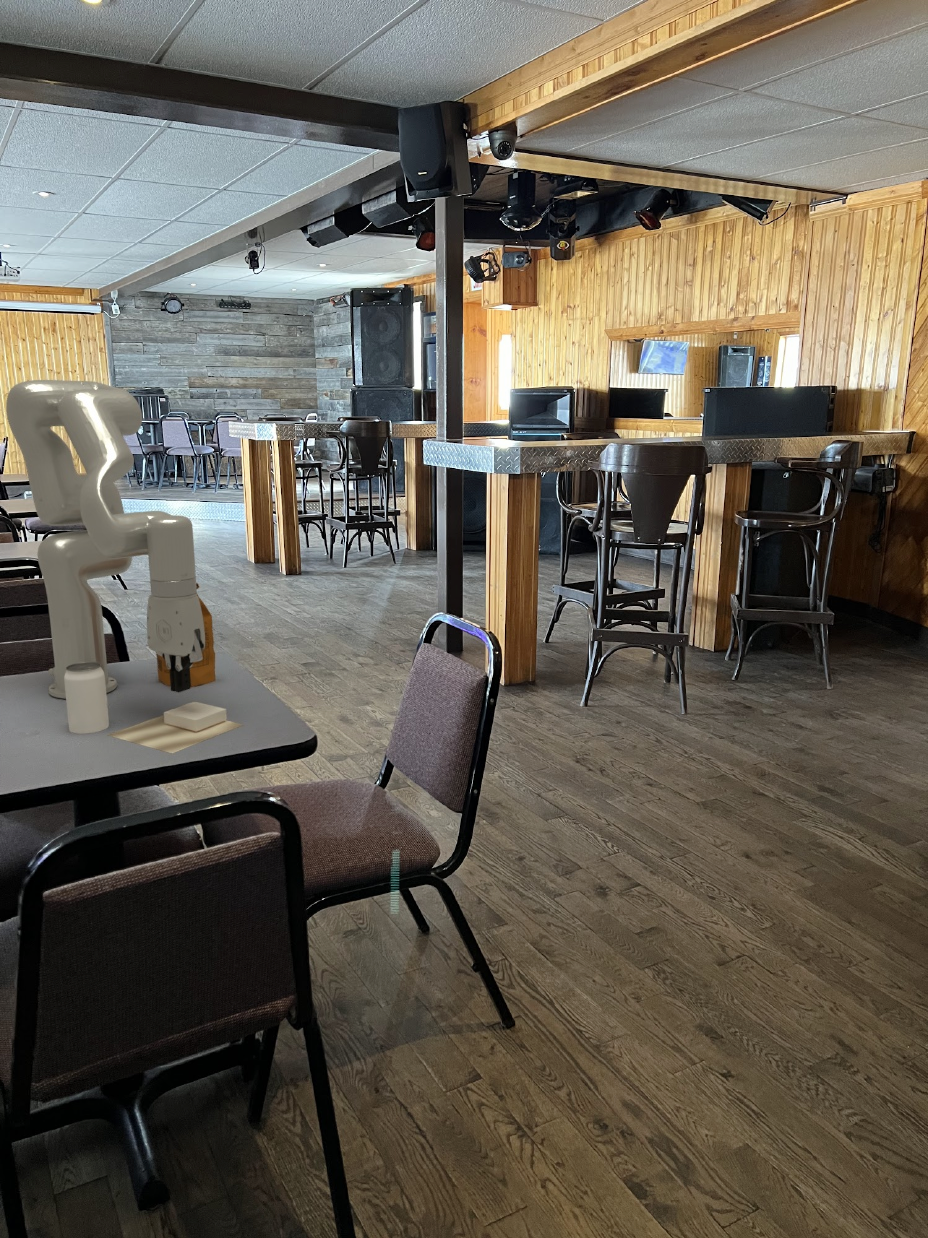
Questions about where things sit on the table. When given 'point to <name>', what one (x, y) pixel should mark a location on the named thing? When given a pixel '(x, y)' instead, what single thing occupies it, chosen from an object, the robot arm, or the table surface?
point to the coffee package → (201, 669)
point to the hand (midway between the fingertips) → (181, 689)
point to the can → (86, 698)
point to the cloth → (170, 734)
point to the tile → (195, 716)
